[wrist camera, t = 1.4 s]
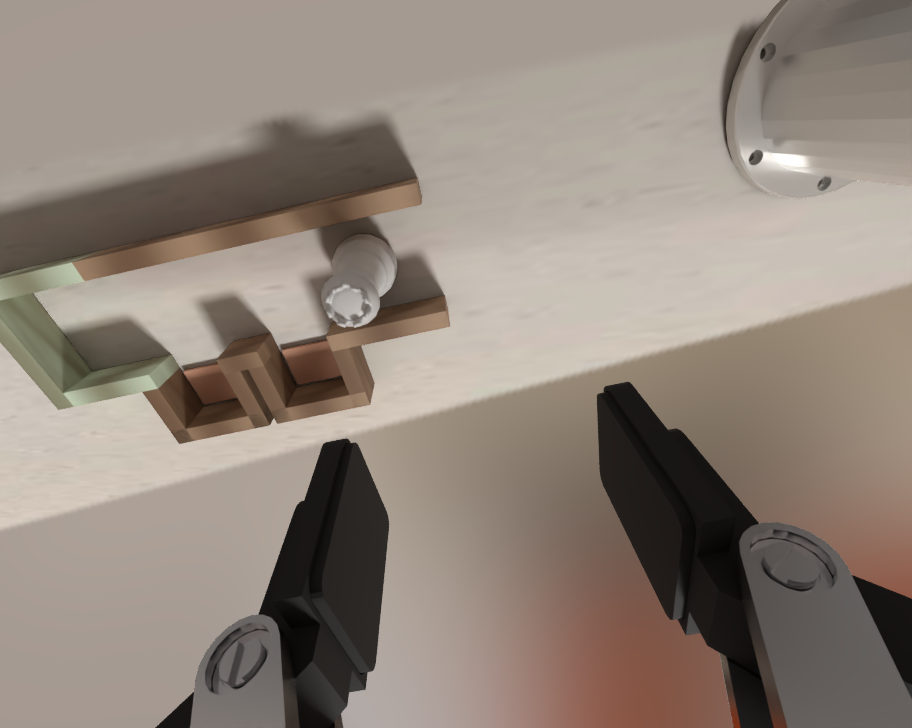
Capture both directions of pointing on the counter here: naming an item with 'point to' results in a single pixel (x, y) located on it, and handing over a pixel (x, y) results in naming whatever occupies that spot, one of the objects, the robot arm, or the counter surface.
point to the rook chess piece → (358, 280)
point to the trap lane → (244, 361)
